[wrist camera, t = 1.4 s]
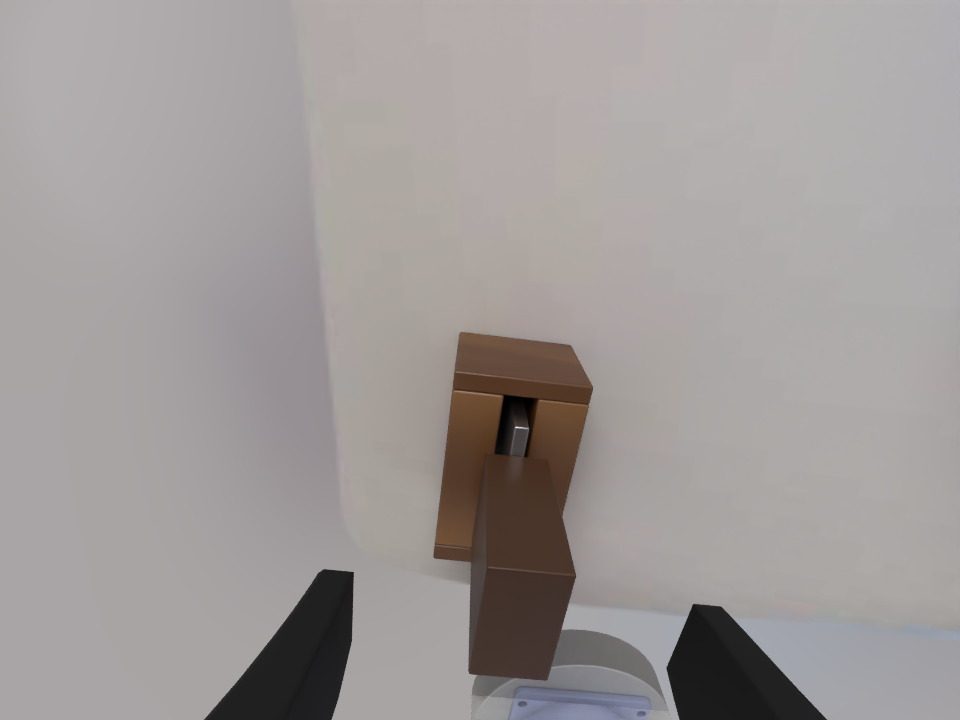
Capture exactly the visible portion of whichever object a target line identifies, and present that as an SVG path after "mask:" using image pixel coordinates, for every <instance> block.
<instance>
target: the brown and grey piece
mask: <svg viewBox="0 0 960 720" xmlns="http://www.w3.org/2000/svg"><path fill="white" fill-rule="evenodd" d="M528 432H529V426H528V421H527V415H526V410H525V405H524V400H523V397H519V396H510V395H504V399H503V405H502V411H501V417H500V423H499V429H498V436H497V442H496V448H495V454H490V453H486V454H485V457H484V463H483V470H482V477H481V483H480V490H479V496H478V503H477V509H476V516H475V522H474V529H473V535H472V546H471V587H470V589H471V590H470V628H469V630H470V631H469V669H468V671H469V674H474V675H486V676H498V677H509V678H521V679H533V680H545V681H546V680H548V676H549V673H550V669H551V665H552V662H553V658H554V654H555V651H556V647H557V643H558V640H559V636H560V633H561V629H562V625H563V622H564V618H565V614H566V611H567V607H568V603H569V600H570V596H571V593H572V589H573V585H574V582H575V578H576V573H575V569H574V565H573V561H572V556H571V552H570V548H569V544H568V540H567V535H566V531H565V527H564V523H563V519H562V515H561V510H560V506H559V502H558V498H557V494H556V489H555V485H554V481H553V477H552V473H551V468H550V464H549V460H546V459H537V458H527V457H524V453H525V448H526V443H527V437H528Z"/></svg>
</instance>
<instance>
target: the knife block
mask: <svg viewBox="0 0 960 720" xmlns="http://www.w3.org/2000/svg"><path fill="white" fill-rule="evenodd" d="M592 391H593V386H592V384H591V382H590V380H589V379H588V377H587V375H586V373H585V371H584V369H583V367H582V365H581V363H580V362H579V360H578V358H577V356H576V354H575V352H574V350H573V348H572V347H571V346H570V345H565V344H556V343H548V342H540V341H531V340H523V339H514V338H506V337H498V336H489V335H481V334H473V333H464V332H461V333H460V334H459V342H458V350H457V357H456V365H455V372H454V381H453V390H452V398H451V407H450V416H449V425H448V433H447V442H446V451H445V460H444V468H443V477H442V486H441V495H440V503H439V512H438V521H437V529H436V538H435V547H434V558H436V559H446V560H456V561H467V562H471V546H472V535H473V529H474V522H475V516H476V509H477V503H478V496H479V490H480V483H481V477H482V470H483V463H484V457H485V454H486V453H490V454H495V448H496V442H497V436H498V429H499V423H500V417H501V411H502V405H503V399H504V395H510V396H519V397H523V400H524V405H525V410H526V415H527V421H528V426H529V432H528V437H527V443H526V448H525V453H524V457H527V458H537V459H546V460H549V464H550V468H551V473H552V477H553V481H554V485H555V489H556V494H557V498H558V502H559V506H560V510H561V515H563V510H564V506H565V502H566V498H567V494H568V490H569V486H570V482H571V478H572V473H573V469H574V465H575V461H576V457H577V453H578V449H579V445H580V441H581V436H582V432H583V428H584V424H585V420H586V416H587V412H588V408H589V405H588V404H589V403H590V399H591V395H592Z"/></svg>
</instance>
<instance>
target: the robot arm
mask: <svg viewBox="0 0 960 720" xmlns="http://www.w3.org/2000/svg"><path fill="white" fill-rule="evenodd" d="M353 577H354V572H347V571H336V570H326V569H324V570H322V571H321V572H319V573H318V574H317V576H316V578H315V579H314V581H313V582H312V584H311V585H310V587H309V588H308V590H307V591H306V593H305V594H304V595H303V597H302V598H301V600H300V601H299V603H298V604H297V605H296V607H295V608H294V610H293V611H292V612H291V614H290V615H289V616H288V618H287V619H286V620H285V622H284V623H283V624H282V626H281V627H280V628H279V630H278V631H277V633H276V634H275V635H274V636H273V638H272V639H271V640H270V641H269V643H268V644H267V645H266V646H265V648H264V649H263V650H262V651H261V653H260V654H259V655H258V657H257V658H256V659H255V660H254V662H253V663H252V664H251V665H250V666H249V668H248V669H247V670H246V672H245V673H244V674H243V675H242V676H241V678H240V679H239V680H238V681H237V683H236V684H235V685H234V686H233V687H232V688H231V689H230V691H229V692H228V693H227V694H226V695H225V696H224V697H223V699H222V700H221V701H220V702H219V703H218V705H217V706H216V707H215V708H214V709H213V710H212V711H211V712H210V714H209V715H208V716H207V717H206V718H205V719H204V720H331V719H332V716H333V713H334V710H335V707H336V704H337V701H338V697H339V693H340V689H341V685H342V681H343V676H344V672H345V668H346V664H347V659H348V655H349V651H350V646H351V642H352V616H353V615H352V614H353ZM667 672H668V676H669V681H670V685H671V689H672V693H673V697H674V701H675V705H676V708H677V712H678V716H679V719H680V720H827V719H826V718H825V717H824V716H823V715H822V714H821V713H820V712H819V711H818V710H817V709H816V708H815V707H814V706H813V705H812V703H811V702H810V701H808V699H807V698H806V697H805V696H804V695H803V694H802V693H801V692H800V691H799V690H798V689H797V688H796V686H795V685H794V684H793V683H792V682H791V681H790V680H789V679H788V678H787V677H786V676H785V675H784V674H783V672H782V671H781V670H780V669H779V668H778V667H777V666H776V665H775V664H774V663H773V662H772V661H771V659H770V658H769V657H768V656H767V655H766V654H765V653H764V652H763V651H762V650H761V649H760V648H759V646H758V645H757V644H756V643H755V642H754V641H753V640H752V639H751V638H750V637H749V636H748V634H747V633H746V632H745V631H744V630H743V629H742V628H741V627H740V626H739V625H738V624H737V623H736V622H735V620H734V619H733V618H732V617H731V616H730V615H729V614H728V613H727V612H726V611H725V610H724V609H723V608H722V607H720V606H710V605H699V604H693V606H692V609H691V611H690V613H689V616H688V618H687V621H686V623H685V625H684V628H683V630H682V632H681V635H680V637H679V640H678V642H677V645H676V647H675V649H674V651H673V654H672V656H671V659H670V661H669V663H668V666H667ZM651 709H652V705H651V702H650V700H649V698H647V697H644V696H634V695H622V694H610V693H598V692H586V691H574V690H563V689H551V688H539V687H527V686H521V687H518V688H517V689H516V690H515V692H514V696H513V701H512V705H511V709H510V713H509V717H508V720H647V718H648V716H649V713H650V711H651Z"/></svg>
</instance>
